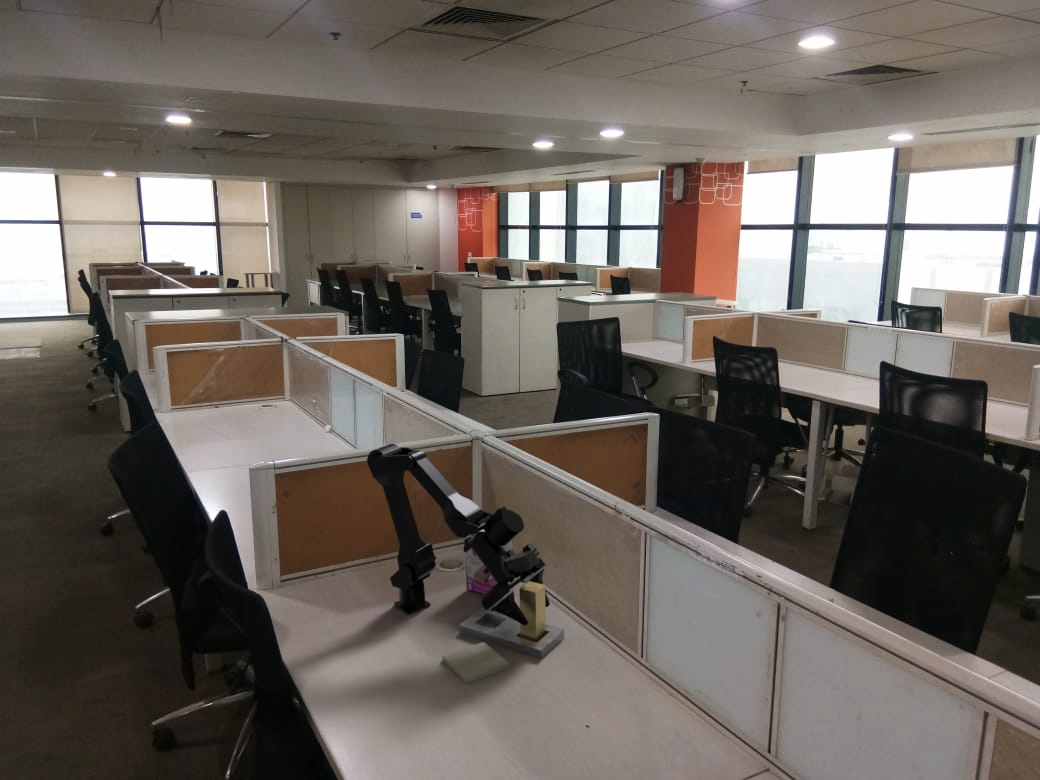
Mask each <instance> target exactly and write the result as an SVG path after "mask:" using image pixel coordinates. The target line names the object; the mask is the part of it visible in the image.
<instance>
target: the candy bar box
mask: <svg viewBox="0 0 1040 780" xmlns="http://www.w3.org/2000/svg"><path fill="white" fill-rule="evenodd" d="M481 531H484V532H485V530H484V529H483V530H481ZM481 531H479V532H481ZM476 534H477V533H476ZM476 534H474V535H468V536H467V537H464V540H465V539H467V538H468V537H473V536H475V535H476ZM513 541H514V539H512V540H511V541H510V542H509V543H508V544H507V545H505V546H503V547H504V549H505V550H506V551H508V550H512V551H513V549H514V548H513ZM513 552H514V551H513ZM485 568H486V567H485V566H484V565H483V563H482V562H481V561H480V559H479V558H478V557H477V555H476V554H475V552H474V551H473V550H472V549H470V550H469V551H467V552H465V570H466V571H465V572H466V574H465V575H466V577H465V578H466V580H465V581H466V591H469V592H471V593H472V592H473V593H476V594H478V595H482V596H484V595H485V594H486V593H487V592H488V591H490V590H491V589H492V588H493V587H495V585H496V584H497V582H496V581H495V579H494V578H493V577H492V575H491V574H490V573H487V574H485V573H484V571H483V570H484V569H485ZM508 584H510V582H508ZM513 591H514V587H513V588H512V589H510V592H509V594H511V593H512V592H513Z"/></svg>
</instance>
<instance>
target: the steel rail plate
mask: <svg viewBox="0 0 1040 780" xmlns="http://www.w3.org/2000/svg"><path fill="white" fill-rule="evenodd" d="M492 608H493V607H491V608H489V609H488V610H487V611H486V610H485V609H484V607H483V606H482V608H480V609H479V610H478V611H475V613H473V614H472V615H470V616H469V617H468V618H467V619H465V620H464V621H463V622H461V623H460V624H458V631H459V634H461V635H463V636H467V637H470V638H473V639H475V640H476V639H477V640H480V641H482V642H485V643H488V644H491V645H495V646H499V647H502V648H504V649H508V650H511V651H514V652H517V653H520V654H522V655H527V656H529V657H533V658H535V659H538V660H542V659H543V658H544V657H546V656H547V655H548V654H549V653H550V652H551V651H552V650H553V649H554V648H555V647H557V645H558V644H560V643H561V642H562V641H563V640H564V639H565V629H563V628H560V627H557V626H553V625H549V624H546V623H545V636H544V637H543V638H542V639H541V640H540V641H539V642H538V643H537V642H533V641H530V640H527V639H524V638H520V623H519V622H517V621H515V620H513V619H511V618H509V617H507V616H505V615H503V614H501V613H498V612H496V611H493V612H492V611H491V609H492ZM487 622H490V623H492V624H496V625H498V626H496V627H495V628H490V627H487V626H484V624H486V623H487Z"/></svg>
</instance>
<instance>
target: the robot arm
mask: <svg viewBox="0 0 1040 780" xmlns="http://www.w3.org/2000/svg"><path fill="white" fill-rule="evenodd" d="M366 463H367V465H368V468H369V471H370V473H371V475H372V477H373V479H374V480H375V481H376V483H378V484H380V486H381V487H382V489H383V492H384V496H385V499H386V503H387V505H388V509H389V513H390V516H391V519H392V522H393V526H394V527H393V528H394V529H395V533H396V537H397V539H398V543H399V548H398V552H397V558H396V559H397V564H398V570H397V571H396V572H395V573H393V574H392V576H390V578H389V579H390V580H389V581H390V584H391V586H392V587H394V588H397V589H398V593H399V595H398V597H399V600H398V601H395V602H394V603H393V605H394V606H395V607H396V608H398V609H399V610H401V611H403V612H404V613H405V614H407V615H410V614H412V613H415V612H418V611H420V610H421V611H422V610H423V609H426V608H428V607H431V603H430V602H429V601H427V600H426V592H425V582H424V580H425V579H428V578H429V577H430V576H431V574H432V573H431V572H433V571H434V569H435V567H436V560H437V556H436V555H435V553H434V548H433V545H432V543H430V542H429V543H426V542H425V541H424V540H423V539H422V538H421V535H420V533H419V530H418V525H417V523H416V518H415V515H414V512H413V509H412V506H411V501H410V498H409V496H408V491H407V489H406V486H405V481H404V478H405V473H406V472H405V471H407V472H409V473H410V474H411V476H413V478H414V479H415V480H416V481H417V483H419V485H421V486H422V488H423V489H424V490H425V492H427V494H428V495H429V496H430V497H431V498H432V499H433V501H434V502H435V503H436V505H438V507H439V508H440V509H441V511H442V514H443V519H444V522H445V523H446V525H447V527H448V528H449V529H450V531H451V532H452V533H453V535H454V536H456V537H457V538H464V540H463V541H464V545H463V550H462V551H463V553H466V552H467V551H469V550H470V549H472V550H473V551H474V552H475V554H476V555H477V557H478V558H479V559H480V561H481V562H482V563H483V565H484V566H485V567H486V568H485V569H484V570H483V571H484V573H485V574H487V573H490V574H491V575H492V577H493V578H494V579H495V581H496V582H497V584H496V585H495V587H493V588H492V589H491V590H490V591H488V592H487V593H486V594H485V595H482V597H480V605H481V606H482V608H483V607H484V609H485V610H486V611H487V610H488V609H489V608H492V609H491V611H492V612H493V611H496V612H498V613H501V614H503V615H505V616H507V617H509V618H511V619H513V620H515V621H517V622H519V623H521V624H522V625H524V626H525V625H527V624H528V621H527V619H526V617H525V615H524V614H523V612H522V611H521V610H520V606H519V605H518V604H517V602H516V600H515V591H514V590H513V592H512V593H511V594H509V592H510V589H512V588H513V589H514V587H515V586H517V585H518V584H520V583H523V585H525V584H526V583H527V582H529V581H531V582H535V583H539V584H542V585H544V582H543V576H544V572H545V568H544V567H545V566H546V563H545V562H544V560H542V558H541V557H539V555H540V551H539V550H538V548H537V547H536V546H535V545H534V543H532V542H531V543H527V544H525V545H524V546H523V547H522V551H519V552H518V553H515V552H514V551H512V550H508V551H506V550H505V549H504V547H503V546H505V545H507V544H508V543H509V542H510V541H511V540H512V539H513V540H514V539H515V538H516V537H517V536H518V535H519V534H520V533H522V532H523V531H524V528H525V524H524V520H523V518H522V516H520V514H519V513H517V512H515V511H513V510H511V509H507V507H506V506H505V505H502V506H501V507H499V508H498V509H497V510H495V512H494V513H490V512H487V511H485V510H483V509H481V508H480V507H479V506H478V505H477V504H476V503H475V502H473V501H472V499H469V498H467V497H464V496H463V495H460V494H459V493H458V491H456V490H455V488H454V487H453V486H452V485H451V484H450V482H448V481H447V480H446V478H445V477H444V476H443V475H442V474H441V473H440V471H439V470H438V469H437V468H436V467H435V466H434V465H433V464H432V462H431V461H430V460H429V459H428V457H427V454H426V452H424V451H422V450H420V449H419V450H418V449H412V448H411V447H406V446H405V447H404V446H398V445H397V444H395V443H388V444H386V445H383V446H380V447H378V448H375V449H373V450H371V451H370V452H369V453H368V455H367V457H366ZM483 529H484V530H485V532H484V531H481V530H483ZM479 531H481V532H479ZM476 533H477V534H476ZM474 534H476V535H475V536H473V537H468V538H467V539H465V537H467V536H468V535H474ZM508 582H510V584H508ZM549 606H551V602H550V600H549V597H548V594H547V591H546V590H545V608H548V607H549Z"/></svg>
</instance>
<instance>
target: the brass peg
mask: <svg viewBox="0 0 1040 780" xmlns="http://www.w3.org/2000/svg"><path fill="white" fill-rule="evenodd" d="M524 584H525V583H524ZM524 584H522V586H521V587H519V608H520V610H521V611H522V612H523V614H524V615H525V617H526V619H527V621H528V624H527V625H525V626H524V625H522V624H521V623H520V638H524V639H527V640H530V641H533V642H537V643H538V642H539V641H540V640H541V639H542V638H543V637H544V636H545V624H546V607H545V591H546V584H543V585H542V584H539V583H535V582H531V581H529V582H527V583H526V584H525V585H524Z"/></svg>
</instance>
